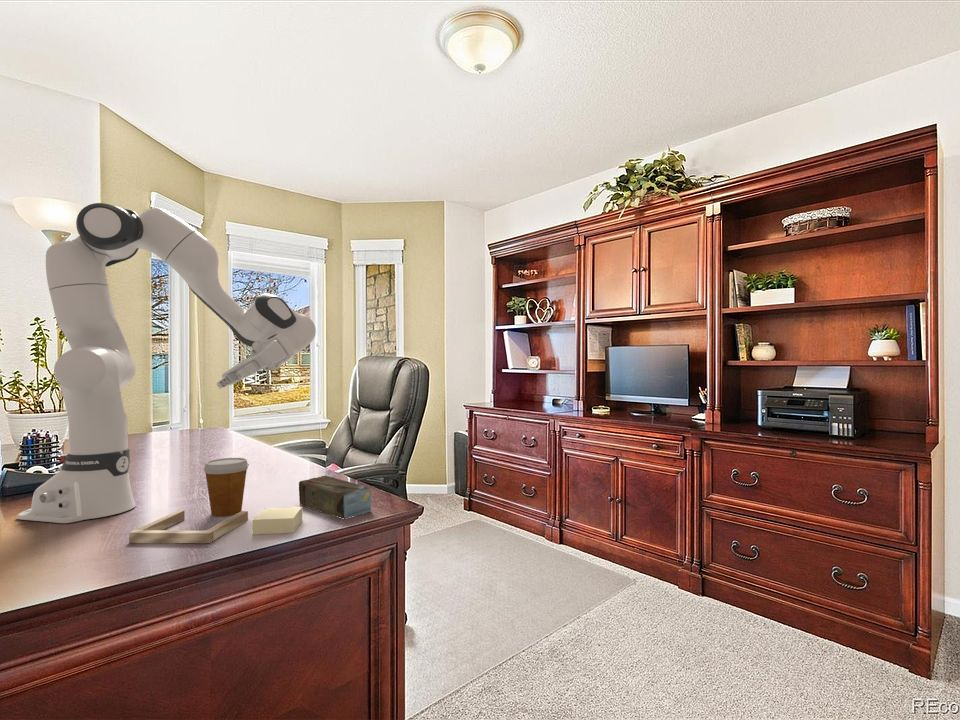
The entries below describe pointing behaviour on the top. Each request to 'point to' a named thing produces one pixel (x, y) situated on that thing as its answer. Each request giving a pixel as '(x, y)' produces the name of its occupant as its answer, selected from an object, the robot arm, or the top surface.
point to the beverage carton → (335, 496)
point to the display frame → (158, 535)
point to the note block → (277, 520)
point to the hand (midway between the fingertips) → (229, 380)
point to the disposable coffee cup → (226, 485)
